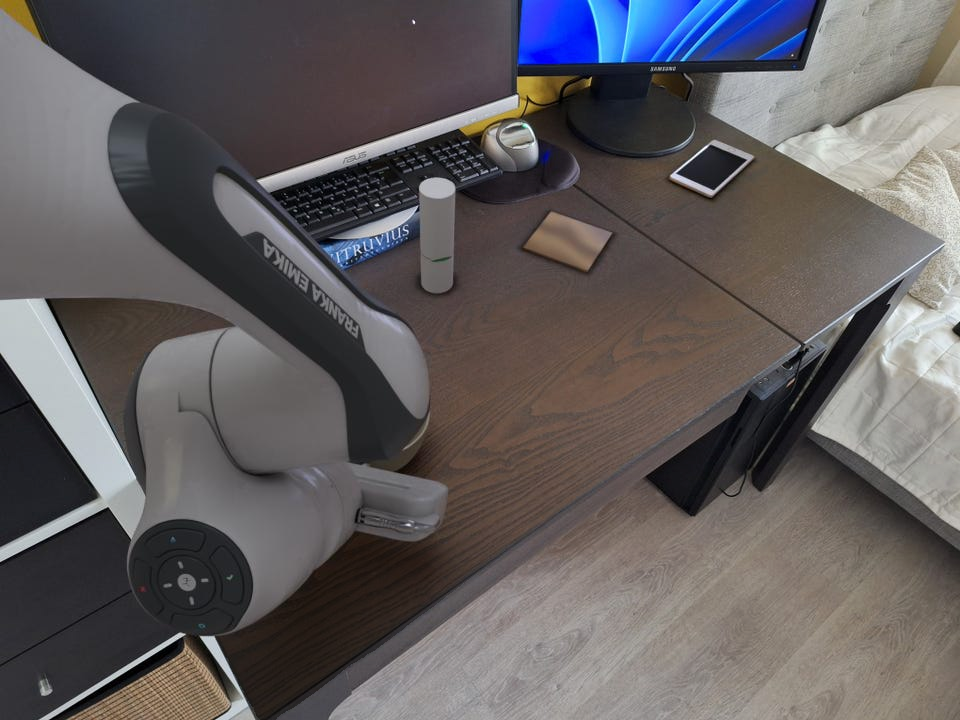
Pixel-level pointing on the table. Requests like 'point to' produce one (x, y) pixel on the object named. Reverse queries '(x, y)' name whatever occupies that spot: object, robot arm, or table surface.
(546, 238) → the shiny brown rectangular coaster
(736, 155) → the cell phone
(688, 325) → the table surface
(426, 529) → the robot arm
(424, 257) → the tube
